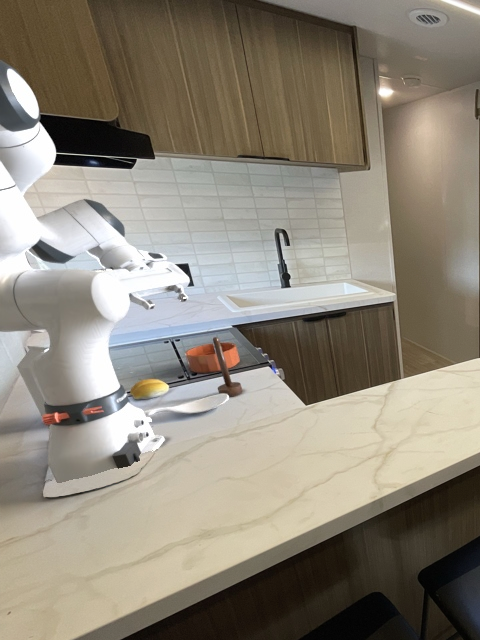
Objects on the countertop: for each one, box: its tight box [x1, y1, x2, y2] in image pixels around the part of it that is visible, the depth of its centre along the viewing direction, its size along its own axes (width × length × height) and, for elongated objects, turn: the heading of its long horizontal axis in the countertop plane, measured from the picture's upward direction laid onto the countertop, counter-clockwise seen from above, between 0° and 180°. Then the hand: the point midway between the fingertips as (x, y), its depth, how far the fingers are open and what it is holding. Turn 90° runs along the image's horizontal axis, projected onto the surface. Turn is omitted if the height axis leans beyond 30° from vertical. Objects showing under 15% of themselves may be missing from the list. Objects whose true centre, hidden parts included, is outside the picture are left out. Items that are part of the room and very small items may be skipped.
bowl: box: [184, 342, 241, 374], centre depth 135 cm, size 14×14×6 cm
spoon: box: [142, 393, 230, 417], centre depth 100 cm, size 9×32×4 cm, turn 130°
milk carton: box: [16, 345, 50, 417], centre depth 99 cm, size 7×7×19 cm
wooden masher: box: [211, 336, 243, 398], centre depth 112 cm, size 6×6×17 cm
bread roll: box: [129, 378, 170, 401], centre depth 115 cm, size 8×9×4 cm
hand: (169, 303), depth 108 cm, fingers open, 8 cm apart
